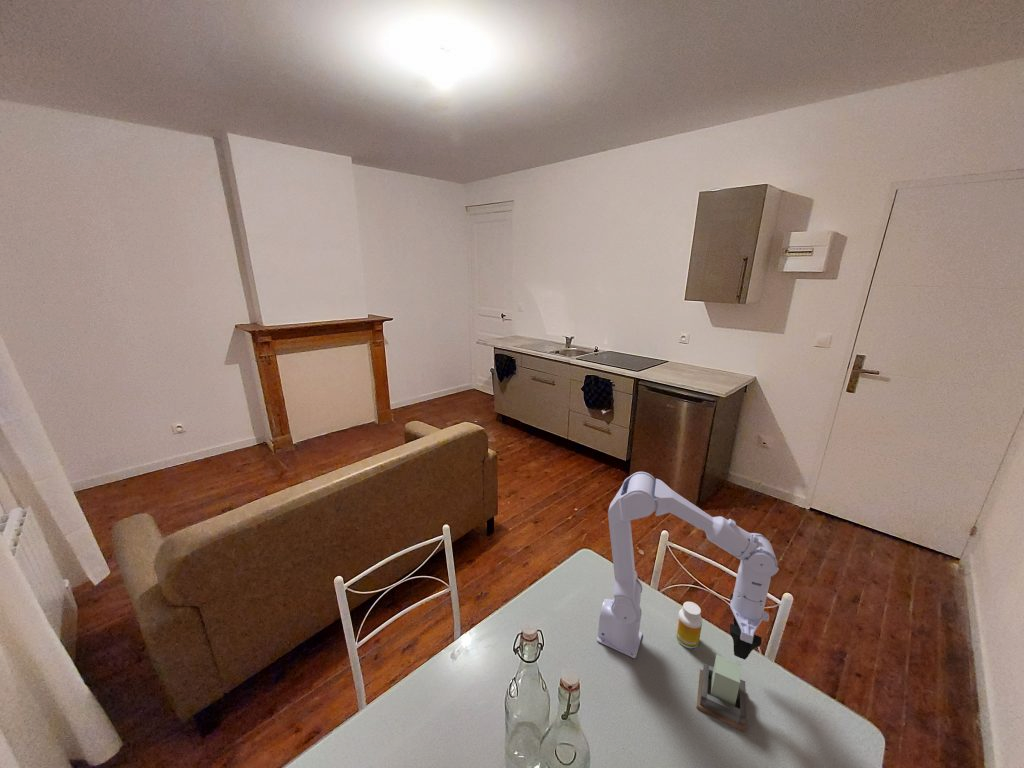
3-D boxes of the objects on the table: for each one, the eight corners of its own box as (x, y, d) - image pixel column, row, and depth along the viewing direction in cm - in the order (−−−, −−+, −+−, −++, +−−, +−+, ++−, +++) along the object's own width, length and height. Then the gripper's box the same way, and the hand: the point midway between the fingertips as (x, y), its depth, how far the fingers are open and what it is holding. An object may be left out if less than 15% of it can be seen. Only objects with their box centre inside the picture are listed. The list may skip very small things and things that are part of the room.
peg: (709, 701, 81) (715, 672, 79) (710, 682, 85) (716, 654, 83) (733, 712, 79) (740, 682, 77) (733, 693, 83) (739, 664, 81)
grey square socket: (696, 708, 80) (698, 696, 80) (699, 671, 88) (701, 660, 87) (746, 732, 76) (749, 720, 75) (745, 692, 84) (747, 680, 83)
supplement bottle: (701, 651, 93) (707, 619, 90) (677, 646, 94) (682, 615, 91) (695, 631, 98) (701, 600, 96) (673, 628, 99) (678, 597, 97)
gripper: (776, 625, 73) (763, 679, 76) (770, 576, 85) (759, 625, 89) (733, 610, 76) (723, 662, 80) (734, 564, 88) (724, 612, 92)
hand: (739, 642), depth 84 cm, fingers open, 7 cm apart
